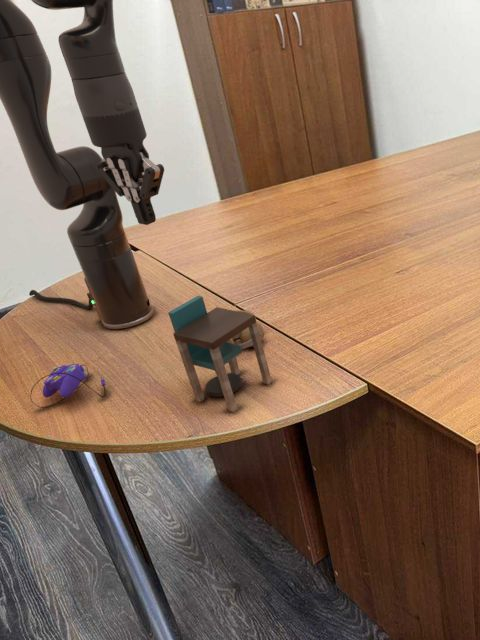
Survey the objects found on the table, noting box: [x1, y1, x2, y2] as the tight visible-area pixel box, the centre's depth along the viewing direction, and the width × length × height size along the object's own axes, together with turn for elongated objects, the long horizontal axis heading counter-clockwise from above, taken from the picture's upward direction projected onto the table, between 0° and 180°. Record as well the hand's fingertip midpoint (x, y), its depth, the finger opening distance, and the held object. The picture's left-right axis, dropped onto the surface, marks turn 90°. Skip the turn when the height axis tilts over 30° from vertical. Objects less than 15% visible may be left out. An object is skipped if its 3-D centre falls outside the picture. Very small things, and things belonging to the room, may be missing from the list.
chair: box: [168, 295, 243, 398], centre depth 103 cm, size 6×6×15 cm
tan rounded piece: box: [231, 309, 265, 350], centre depth 118 cm, size 11×5×15 cm
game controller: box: [30, 363, 107, 409], centre depth 105 cm, size 10×8×10 cm
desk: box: [172, 306, 273, 413], centre depth 102 cm, size 8×9×12 cm
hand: (147, 222), depth 103 cm, fingers closed
